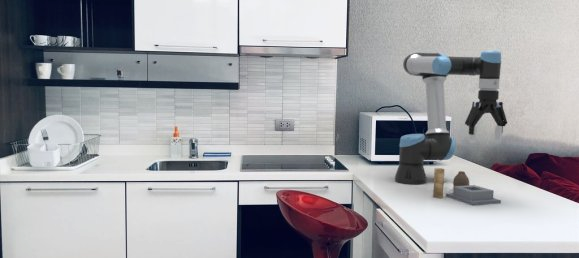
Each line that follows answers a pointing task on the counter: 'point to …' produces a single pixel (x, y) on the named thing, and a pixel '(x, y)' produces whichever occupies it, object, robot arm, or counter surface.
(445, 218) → the counter surface
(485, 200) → the socket
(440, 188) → the peg
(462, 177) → the vase
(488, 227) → the counter surface
